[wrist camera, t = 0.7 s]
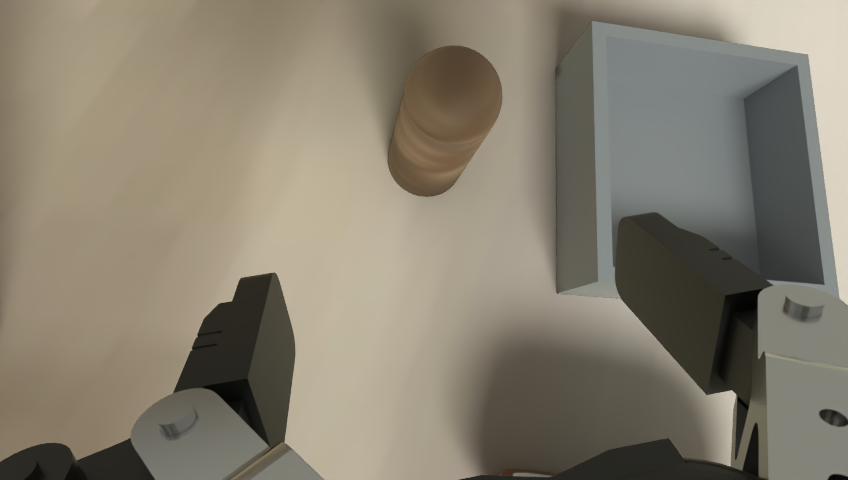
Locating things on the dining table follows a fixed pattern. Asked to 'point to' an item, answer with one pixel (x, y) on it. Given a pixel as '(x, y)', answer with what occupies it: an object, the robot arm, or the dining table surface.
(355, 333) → the dining table surface
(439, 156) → the pepper mill
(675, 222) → the bin
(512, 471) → the tin
